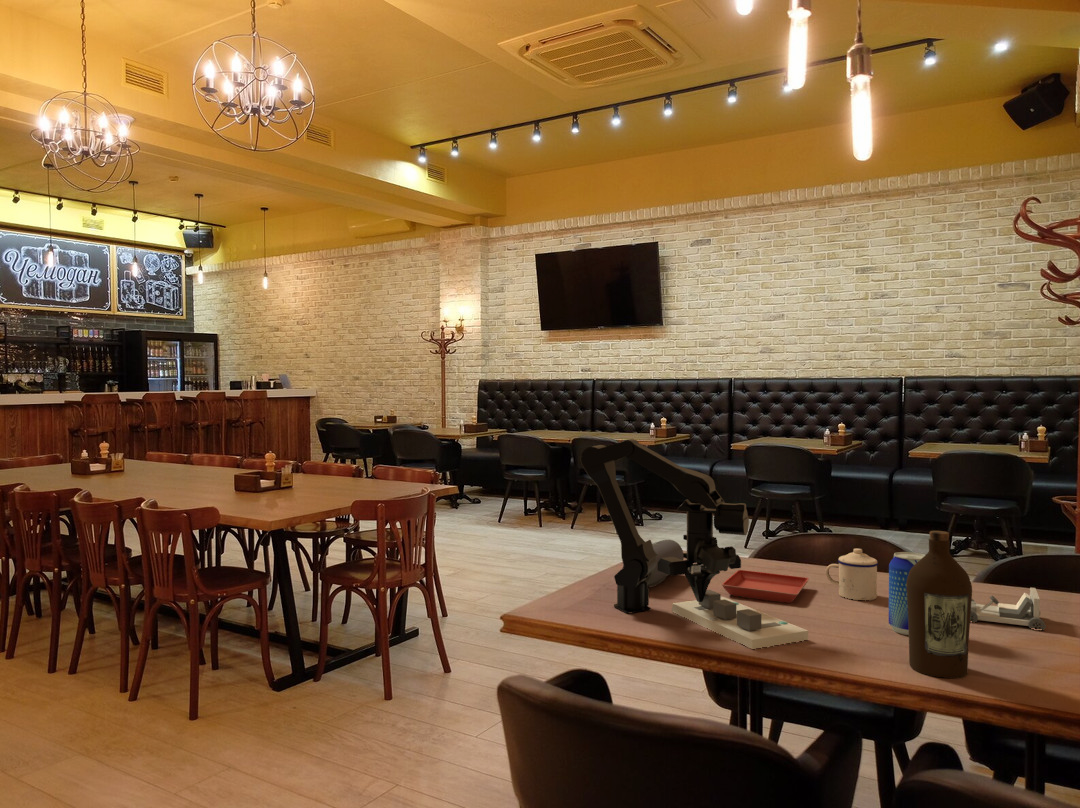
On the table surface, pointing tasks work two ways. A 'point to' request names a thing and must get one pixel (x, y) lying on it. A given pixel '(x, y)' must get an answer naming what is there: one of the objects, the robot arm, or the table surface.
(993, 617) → the toy car
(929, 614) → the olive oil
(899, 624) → the beer can
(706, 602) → the grey block
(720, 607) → the dark grey box
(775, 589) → the plant saucer
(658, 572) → the bluetooth speaker
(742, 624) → the dark grey block
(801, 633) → the switch board
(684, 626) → the table surface
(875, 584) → the teacup with lid
